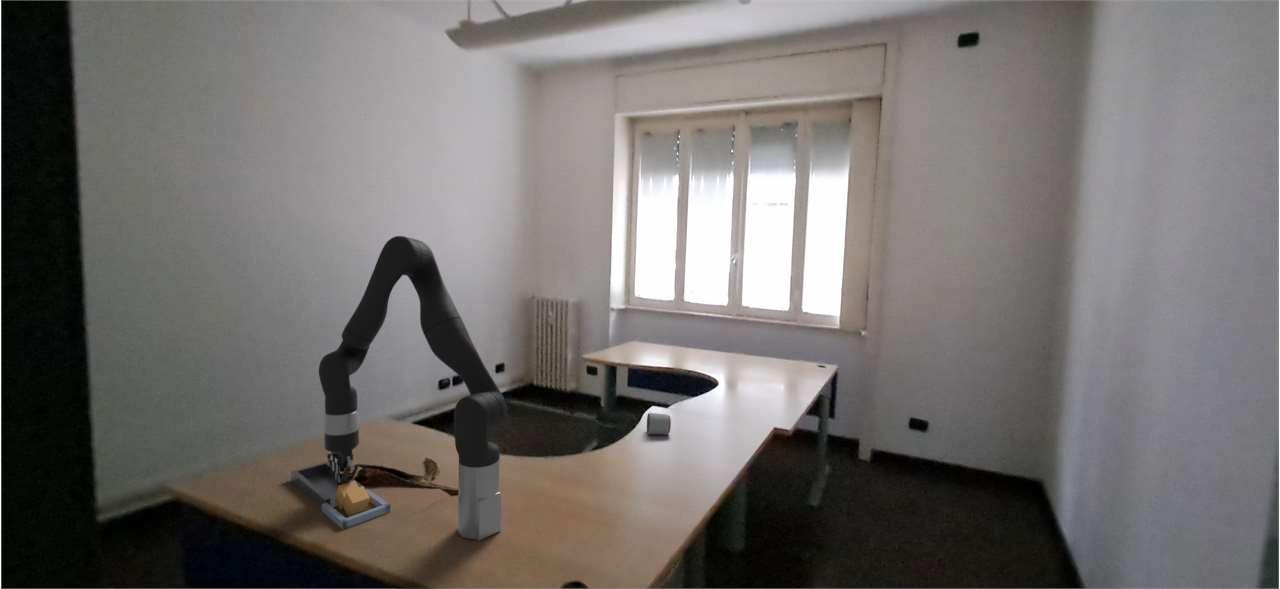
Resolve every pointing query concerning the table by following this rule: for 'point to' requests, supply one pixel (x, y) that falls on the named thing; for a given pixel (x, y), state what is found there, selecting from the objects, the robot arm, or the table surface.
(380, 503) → the tray
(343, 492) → the tan cardboard cube
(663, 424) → the grey cylinder
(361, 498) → the cardboard box
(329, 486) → the rail
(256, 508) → the table surface
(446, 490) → the dark wooden branch
